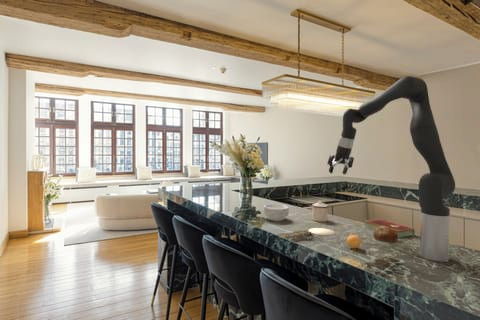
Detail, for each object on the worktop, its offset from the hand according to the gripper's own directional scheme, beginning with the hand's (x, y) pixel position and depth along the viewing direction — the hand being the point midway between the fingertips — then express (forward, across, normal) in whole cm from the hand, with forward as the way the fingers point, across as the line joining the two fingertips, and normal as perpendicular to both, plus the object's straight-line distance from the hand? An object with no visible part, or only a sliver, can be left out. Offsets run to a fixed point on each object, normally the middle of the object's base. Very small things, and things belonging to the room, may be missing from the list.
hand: (337, 173), depth 158 cm
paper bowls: (+36, -26, +10) cm, 45 cm away
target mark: (+26, -13, -19) cm, 35 cm away
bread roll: (+19, +11, -35) cm, 41 cm away
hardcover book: (+22, +22, -24) cm, 40 cm away
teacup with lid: (+32, -1, +5) cm, 33 cm away
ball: (+15, -14, -42) cm, 47 cm away
